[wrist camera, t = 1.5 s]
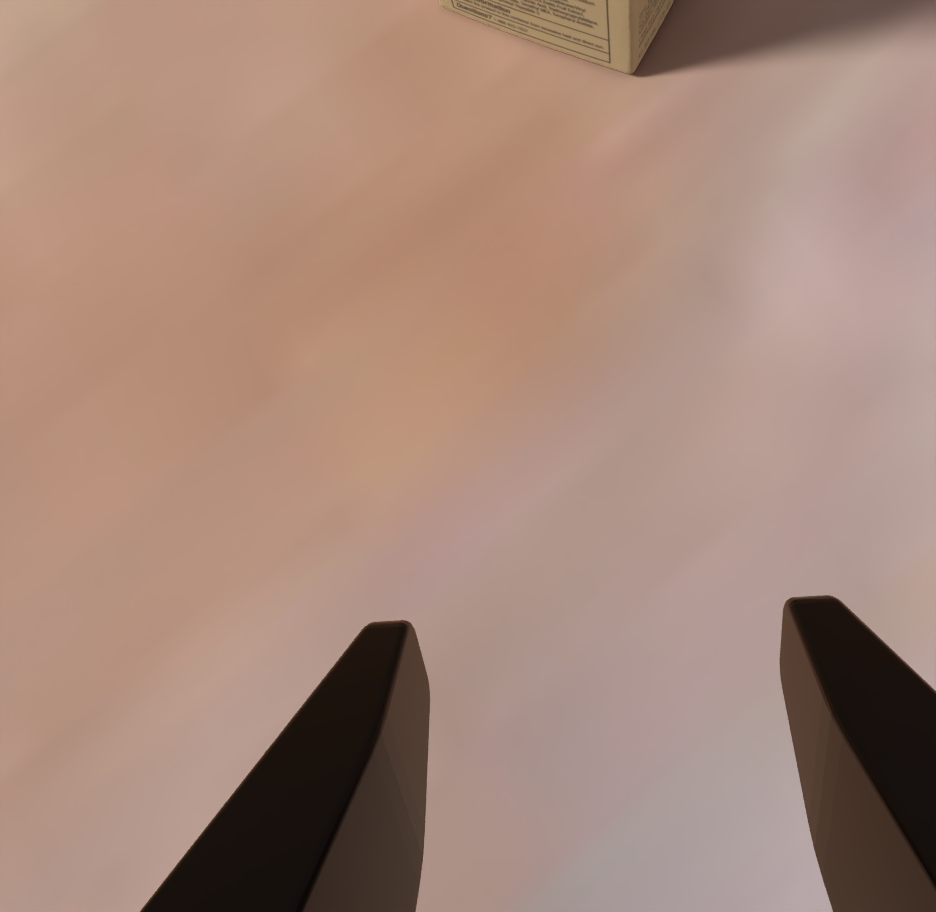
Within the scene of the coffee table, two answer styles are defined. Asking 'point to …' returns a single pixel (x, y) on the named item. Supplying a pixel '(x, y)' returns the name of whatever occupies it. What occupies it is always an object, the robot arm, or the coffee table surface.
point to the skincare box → (576, 25)
